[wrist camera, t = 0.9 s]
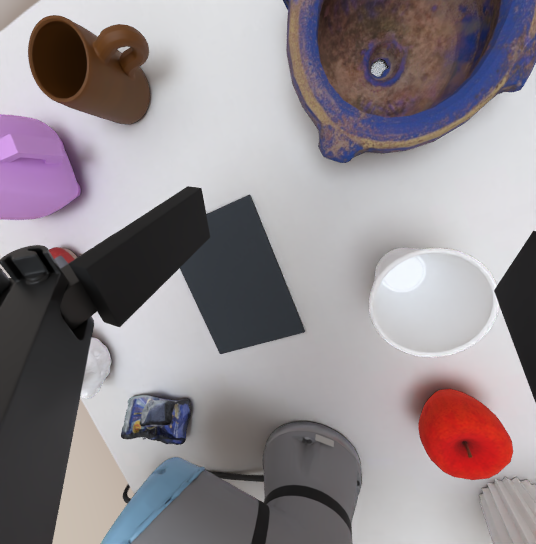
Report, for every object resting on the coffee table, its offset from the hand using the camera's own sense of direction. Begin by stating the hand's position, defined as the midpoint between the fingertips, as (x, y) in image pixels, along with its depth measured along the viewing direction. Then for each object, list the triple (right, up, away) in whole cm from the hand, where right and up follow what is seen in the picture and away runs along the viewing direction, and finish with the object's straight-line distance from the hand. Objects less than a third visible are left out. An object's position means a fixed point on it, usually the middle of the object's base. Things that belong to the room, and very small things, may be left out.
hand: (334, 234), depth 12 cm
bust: (-32, -16, +37) cm, 52 cm away
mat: (-8, -3, +27) cm, 28 cm away
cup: (+13, -2, +22) cm, 26 cm away
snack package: (-21, -26, +37) cm, 50 cm away
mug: (-19, +22, +23) cm, 37 cm away
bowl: (+9, +19, +17) cm, 27 cm away
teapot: (-36, +13, +30) cm, 49 cm away
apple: (+21, -19, +25) cm, 38 cm away
